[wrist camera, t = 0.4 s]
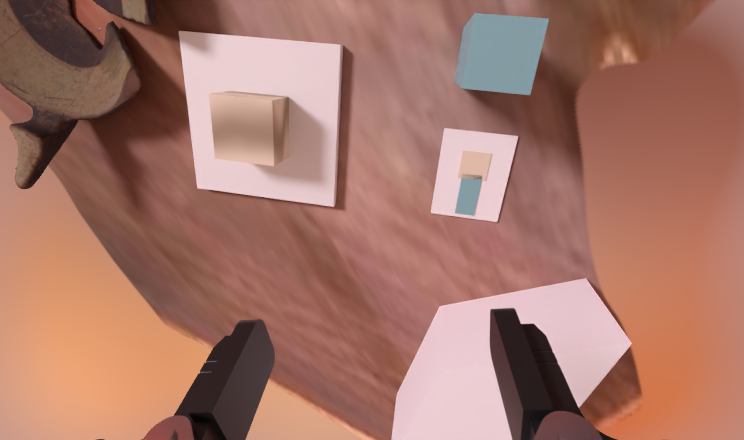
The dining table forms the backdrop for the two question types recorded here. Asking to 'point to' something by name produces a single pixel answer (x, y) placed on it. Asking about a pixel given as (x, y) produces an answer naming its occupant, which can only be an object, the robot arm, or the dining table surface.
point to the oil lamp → (63, 72)
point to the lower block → (250, 127)
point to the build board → (273, 77)
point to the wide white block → (475, 367)
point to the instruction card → (472, 174)
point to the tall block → (500, 53)
